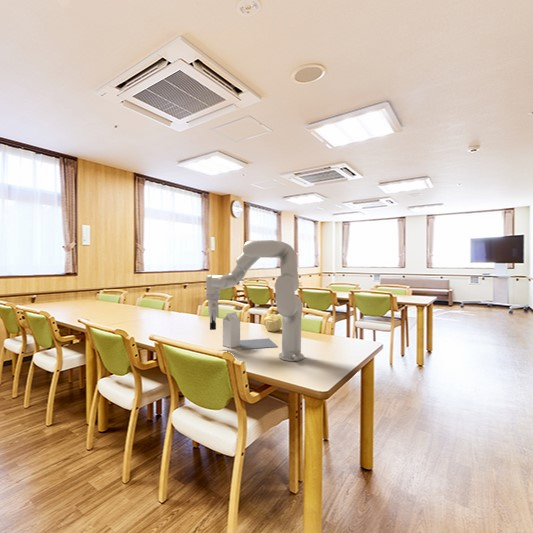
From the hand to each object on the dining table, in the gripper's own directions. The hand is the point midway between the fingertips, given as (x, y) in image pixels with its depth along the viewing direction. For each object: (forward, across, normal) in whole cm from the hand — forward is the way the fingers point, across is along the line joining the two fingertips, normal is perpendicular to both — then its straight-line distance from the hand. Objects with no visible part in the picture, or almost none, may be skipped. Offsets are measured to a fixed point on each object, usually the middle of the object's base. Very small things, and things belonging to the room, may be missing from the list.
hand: (212, 329), depth 172 cm
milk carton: (+10, 0, -10) cm, 15 cm away
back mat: (+10, 0, -26) cm, 27 cm away
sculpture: (+10, +30, -45) cm, 55 cm away
